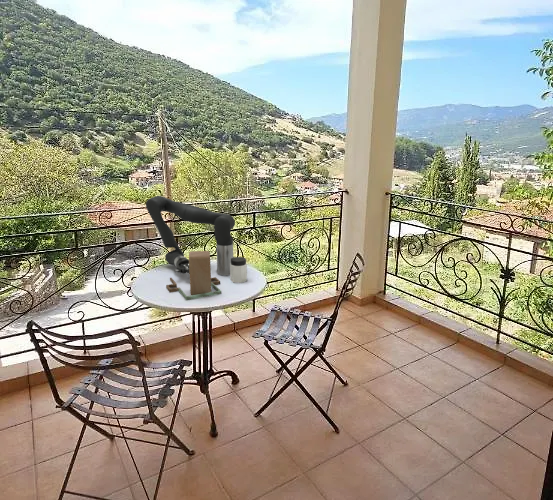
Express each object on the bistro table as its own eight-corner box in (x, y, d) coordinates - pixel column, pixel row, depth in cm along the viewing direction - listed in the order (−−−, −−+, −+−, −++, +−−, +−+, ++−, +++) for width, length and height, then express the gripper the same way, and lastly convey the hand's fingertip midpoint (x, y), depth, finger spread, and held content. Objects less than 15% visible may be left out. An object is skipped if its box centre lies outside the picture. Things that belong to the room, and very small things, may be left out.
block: (211, 295, 189) (210, 255, 184) (190, 296, 187) (188, 256, 182) (210, 287, 199) (209, 250, 193) (190, 289, 197) (188, 250, 191)
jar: (248, 281, 208) (248, 260, 204) (234, 284, 204) (234, 262, 201) (242, 276, 215) (242, 255, 212) (228, 278, 212) (228, 257, 209)
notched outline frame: (209, 274, 218) (209, 271, 218) (229, 292, 193) (229, 289, 193) (161, 281, 206) (161, 279, 205) (176, 302, 181) (176, 298, 180)
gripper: (170, 259, 211) (179, 268, 197) (193, 255, 217) (204, 264, 203) (171, 272, 213) (179, 282, 199) (194, 268, 219) (204, 278, 205)
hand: (192, 273), depth 201 cm, fingers closed
